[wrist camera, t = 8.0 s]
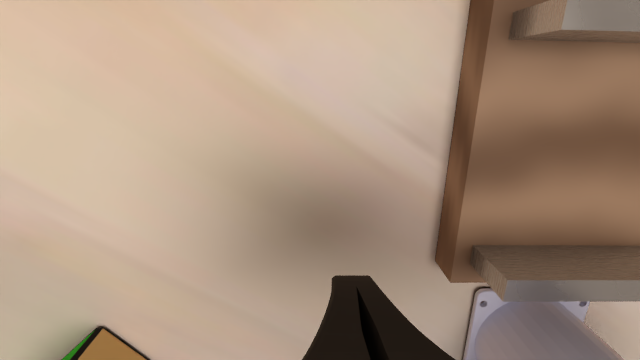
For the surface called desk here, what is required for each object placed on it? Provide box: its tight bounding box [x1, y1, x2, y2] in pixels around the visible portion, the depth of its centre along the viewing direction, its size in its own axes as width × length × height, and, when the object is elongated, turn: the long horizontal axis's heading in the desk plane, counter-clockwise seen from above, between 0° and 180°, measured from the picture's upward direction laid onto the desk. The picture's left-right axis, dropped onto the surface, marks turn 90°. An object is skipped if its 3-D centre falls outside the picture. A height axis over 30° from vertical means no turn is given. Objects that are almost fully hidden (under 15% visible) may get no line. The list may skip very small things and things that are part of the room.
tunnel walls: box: [470, 0, 640, 302], centre depth 16 cm, size 13×11×4 cm
